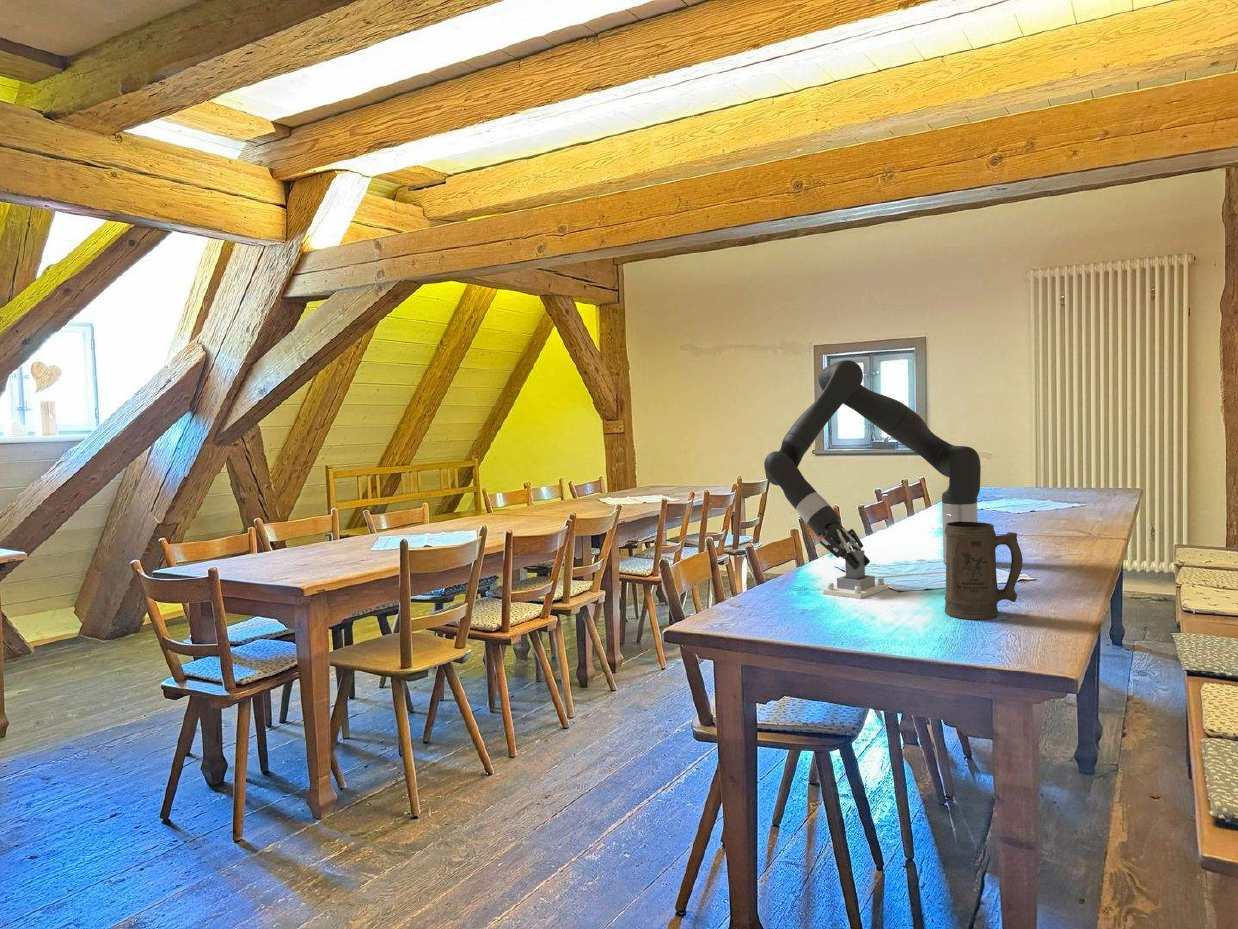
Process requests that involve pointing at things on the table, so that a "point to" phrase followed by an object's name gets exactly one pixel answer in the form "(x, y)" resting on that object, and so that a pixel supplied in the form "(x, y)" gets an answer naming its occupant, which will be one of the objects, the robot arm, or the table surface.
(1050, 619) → the table surface
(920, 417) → the robot arm
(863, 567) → the block
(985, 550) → the beer stein
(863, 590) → the plate
